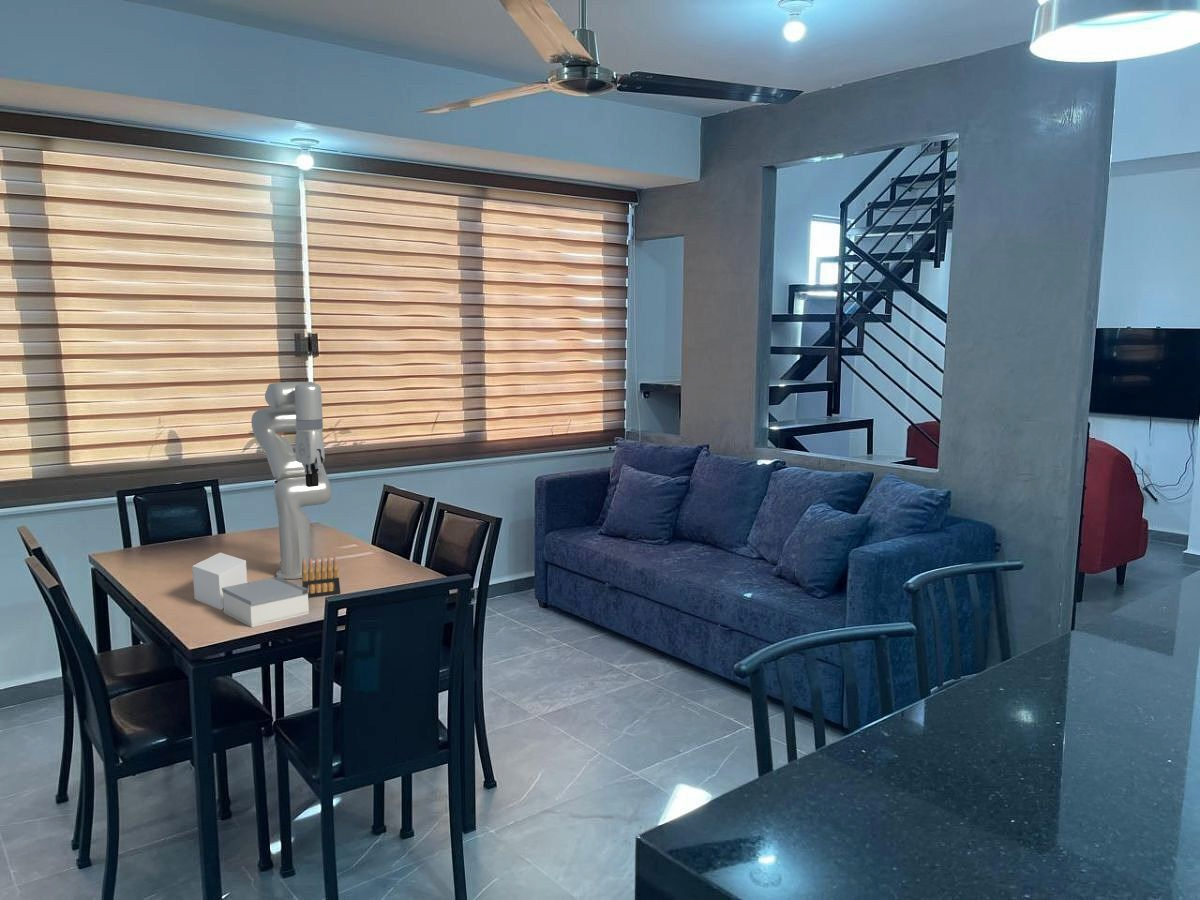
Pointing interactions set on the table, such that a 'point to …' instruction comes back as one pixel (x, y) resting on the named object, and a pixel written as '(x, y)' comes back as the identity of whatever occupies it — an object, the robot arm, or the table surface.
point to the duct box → (265, 609)
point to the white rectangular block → (217, 578)
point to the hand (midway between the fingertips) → (312, 486)
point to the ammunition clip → (321, 577)
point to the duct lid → (264, 590)
